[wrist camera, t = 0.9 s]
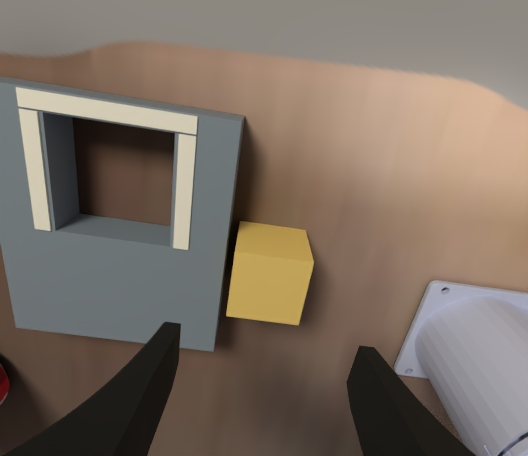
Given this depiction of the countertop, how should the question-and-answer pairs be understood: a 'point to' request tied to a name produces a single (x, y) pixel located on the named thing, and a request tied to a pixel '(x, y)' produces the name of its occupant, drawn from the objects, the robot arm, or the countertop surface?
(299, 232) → the block
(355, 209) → the countertop surface
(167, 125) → the board
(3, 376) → the soda can
